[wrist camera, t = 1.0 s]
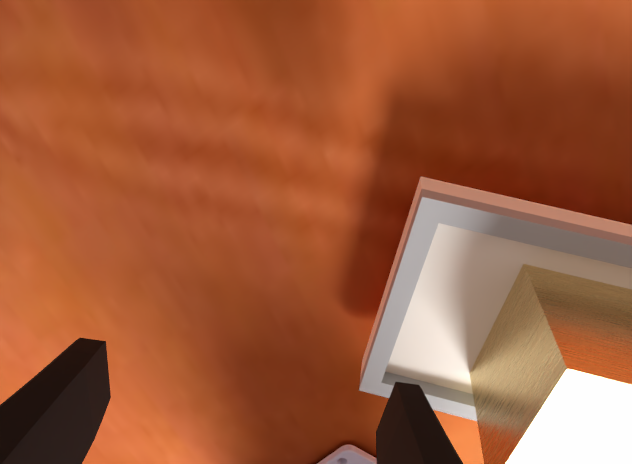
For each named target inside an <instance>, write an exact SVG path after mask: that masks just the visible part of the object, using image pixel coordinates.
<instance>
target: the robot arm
mask: <svg viewBox="0 0 632 464" xmlns="http://www.w3.org/2000/svg"><path fill="white" fill-rule="evenodd" d="M110 398H111V396H110V384H109V373H108V362H107V350H106V341H99V340H92V339H85V338H79V339H78V340H76V341H75V342H74V343H73V344H71V345H70V346H69V347H68V348H67V349H66V350H65V351H63V352H62V353H61V354H60V355H59V356H58V357H57V358H55V359H54V360H53V361H52V362H51V363H50V364H49V365H47V366H46V367H45V368H44V369H43V370H42V371H41V372H39V373H38V374H37V375H36V376H35V377H34V378H32V379H31V380H30V381H29V382H28V383H26V384H25V385H24V386H23V387H22V388H20V389H19V390H18V391H17V392H16V393H14V394H13V395H12V396H11V397H9V398H8V399H7V400H6V401H5V402H3V403H2V404H1V405H0V464H82V462H83V460H84V458H85V456H86V454H87V453H88V451H89V449H90V447H91V445H92V443H93V441H94V439H95V436H96V434H97V431H98V429H99V426H100V424H101V422H102V419H103V416H104V414H105V411H106V408H107V406H108V403H109V401H110ZM376 452H377V458H375V457H373V456H372V455H370V454H368V453H366V452H364V451H363V450H361V449H359V448H357V447H355V446H353V445H349V444H347V445H343V446H341V447H340V448H339V449H337V450H336V451H334V452H333V453H331V454H330V455H329V456H327V457H326V458H324V459H323V460H321V461H320V462H319V463H317V464H463V462H462V461H461V459H460V457H459V456H458V454H457V452H456V451H455V449H454V447H453V445H452V444H451V442H450V440H449V438H448V437H447V435H446V433H445V431H444V429H443V428H442V426H441V424H440V422H439V420H438V418H437V417H436V415H435V413H434V411H433V409H432V407H431V405H430V403H429V401H428V400H427V398H426V396H425V394H424V392H423V390H422V388H421V387H420V385H417V384H410V383H403V382H395V384H394V387H393V389H392V392H391V395H390V397H389V400H388V402H387V405H386V408H385V410H384V413H383V415H382V418H381V421H380V423H379V426H378V428H377V431H376Z"/></svg>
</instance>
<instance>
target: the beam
mask: <svg viewBox="0 0 632 464" xmlns="http://www.w3.org/2000/svg"><path fill="white" fill-rule="evenodd" d="M523 264H527V265H531V266H535V267H539V268H543V269H548V270H552V271H556V272H560V273H564V274H569V275H573V276H577V277H581V278H585V279H590V280H594V281H598V282H602V283H606V284H611V285H615V286H619V287H623V288H627V289H632V225H631V224H626V223H622V222H618V221H613V220H609V219H605V218H600V217H596V216H592V215H587V214H583V213H579V212H574V211H570V210H565V209H561V208H557V207H552V206H548V205H544V204H539V203H535V202H531V201H526V200H522V199H517V198H513V197H509V196H504V195H500V194H496V193H491V192H487V191H483V190H478V189H474V188H470V187H465V186H461V185H456V184H452V183H448V182H443V181H439V180H435V179H430V178H426V177H422V176H421V177H420V180H419V183H418V186H417V189H416V192H415V196H414V199H413V202H412V205H411V208H410V211H409V215H408V218H407V221H406V224H405V227H404V230H403V233H402V237H401V240H400V243H399V246H398V249H397V252H396V256H395V259H394V262H393V265H392V268H391V271H390V274H389V278H388V281H387V284H386V287H385V290H384V293H383V297H382V300H381V303H380V306H379V309H378V312H377V315H376V319H375V322H374V325H373V328H372V331H371V334H370V337H369V341H368V344H367V347H366V350H365V353H364V356H363V360H362V367H361V376H360V385H359V391H363V392H367V393H371V394H375V395H379V396H382V397H386V398H389V397H390V395H391V392H392V389H393V387H394V384H395V382H403V383H410V384H417V385H420V387H421V388H422V390H423V392H424V394H425V396H426V398H427V400H428V401H429V403H430V405H431V407H432V409H433V410H436V411H440V412H444V413H448V414H451V415H455V416H459V417H463V418H467V419H471V420H474V421H477V416H476V410H475V404H474V398H473V392H472V385H471V379H470V371H471V369H472V367H473V365H474V363H475V361H476V359H477V357H478V355H479V353H480V351H481V349H482V347H483V345H484V343H485V341H486V339H487V336H488V334H489V332H490V330H491V328H492V326H493V324H494V322H495V320H496V318H497V316H498V314H499V312H500V310H501V308H502V306H503V304H504V302H505V300H506V298H507V296H508V294H509V292H510V290H511V288H512V286H513V284H514V282H515V280H516V278H517V276H518V274H519V272H520V270H521V268H522V266H523Z"/></svg>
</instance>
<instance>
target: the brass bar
mask: <svg viewBox="0 0 632 464" xmlns="http://www.w3.org/2000/svg"><path fill="white" fill-rule="evenodd" d="M470 379H471V385H472V392H473V398H474V404H475V410H476V416H477V422H478V428H479V434H480V441H481V447H482V453H483V459H484V464H632V289H627V288H623V287H619V286H615V285H611V284H606V283H602V282H598V281H594V280H590V279H585V278H581V277H577V276H573V275H569V274H564V273H560V272H556V271H552V270H548V269H543V268H539V267H535V266H531V265H527V264H523V266H522V268H521V270H520V272H519V274H518V276H517V278H516V280H515V282H514V284H513V286H512V288H511V290H510V292H509V294H508V296H507V298H506V300H505V302H504V304H503V306H502V308H501V310H500V312H499V314H498V316H497V318H496V320H495V322H494V324H493V326H492V328H491V330H490V332H489V334H488V336H487V339H486V341H485V343H484V345H483V347H482V349H481V351H480V353H479V355H478V357H477V359H476V361H475V363H474V365H473V367H472V369H471V371H470Z"/></svg>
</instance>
